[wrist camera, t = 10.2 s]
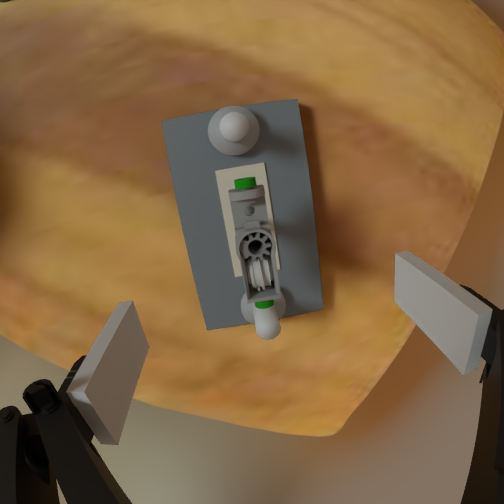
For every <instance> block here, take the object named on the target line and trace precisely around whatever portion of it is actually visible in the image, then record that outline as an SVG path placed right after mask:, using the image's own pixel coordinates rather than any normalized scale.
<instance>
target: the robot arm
mask: <svg viewBox="0 0 504 504" xmlns="http://www.w3.org/2000/svg"><path fill="white" fill-rule="evenodd" d="M6 1H10V0H0V2H6ZM394 302H395V303H396V304H397V305H398V306H399V307H400V308H401V309H402V310H403V311H404V312H405V313H406V314H407V315H408V316H409V317H410V318H411V319H412V320H413V321H414V322H415V323H416V324H417V325H418V327H419V328H420V329H422V331H423V332H424V333H425V334H426V335H427V336H428V337H429V338H430V339H431V340H432V341H433V342H434V343H435V344H436V346H437V347H438V348H439V349H440V350H441V351H442V352H443V353H444V354H445V355H446V356H447V357H448V359H450V361H451V362H452V363H453V364H454V365H455V366H456V368H457V369H458V370H459V371H460V372H461V373H462V374H463V375H465V374H468V373H470V372H472V371H474V370H476V369H477V368H478V365H479V361H480V358H481V357H482V358H483V359H484V360H485V361H486V364H485V367H484V370H483V373H482V376H481V379H480V382H479V383H482V381H483V389H482V399H481V408H480V416H479V423H478V430H477V436H476V442H475V447H474V452H473V457H472V462H471V466H470V471H469V475H468V479H467V483H466V486H465V490H464V494H463V497H462V501H461V504H504V310H500V309H499V308H498V307H496V306H495V305H493V304H492V303H491V302H489V301H488V300H487V299H485V298H483V297H482V296H481V295H479V294H477V292H475V291H474V290H472V289H471V288H469V287H466V286H463V285H458V284H457V283H455V282H454V281H452V280H451V279H450V278H448V277H447V276H445V275H444V274H442V273H441V272H439V271H438V270H436V269H435V268H433V267H432V266H430V265H429V264H427V263H426V262H424V261H423V260H421V259H420V258H418V257H417V256H415V255H414V254H412V253H410V252H409V251H404V252H399V253H395V293H394ZM148 349H149V345H148V342H147V339H146V337H145V334H144V331H143V328H142V326H141V323H140V320H139V317H138V314H137V312H136V309H135V306H134V303H133V301H127V302H120V303H119V304H118V305H117V307H116V308H115V310H114V311H113V313H112V315H111V316H110V318H109V319H108V321H107V323H106V324H105V326H104V327H103V329H102V331H101V332H100V334H99V336H98V337H97V339H96V341H95V342H94V344H93V346H92V347H91V349H90V351H89V352H88V354H87V355H85V356H82V357H81V358H80V359H78V360H77V361H76V362H75V363H74V365H73V367H72V368H71V370H70V372H69V374H68V375H67V378H66V379H65V380H64V382H63V384H62V385H61V387H60V389H59V391H58V392H57V391H56V389H55V387H54V386H53V384H52V383H51V381H50V380H47V379H42V380H38V381H35V382H33V383H32V384H30V385H29V386H28V387H27V388H26V389H25V391H24V393H23V399H24V401H25V402H26V403H27V405H28V406H29V408H30V410H31V411H32V412H33V413H31V414H25V415H22V414H21V412H20V411H19V410H18V408H17V407H15V406H8V407H5V408H3V409H1V410H0V504H60V502H59V496H58V489H57V482H56V479H57V481H58V484H59V486H60V488H61V491H62V493H63V495H64V497H65V499H66V502H67V504H132V503H131V501H130V500H129V499H128V497H127V496H126V494H125V493H124V492H123V490H122V489H121V487H120V486H119V485H118V483H117V482H116V480H115V478H114V477H113V475H112V474H111V473H110V471H109V470H108V468H107V466H106V464H105V463H104V461H103V460H102V458H101V456H100V455H99V453H98V451H97V450H96V448H95V446H94V445H93V444H92V442H91V441H92V438H93V435H95V437H96V438H97V439H98V441H99V442H100V443H101V444H110V445H111V444H112V445H118V444H119V440H120V437H121V433H122V430H123V427H124V423H125V420H126V417H127V413H128V410H129V407H130V404H131V400H132V397H133V394H134V391H135V388H136V385H137V382H138V379H139V376H140V373H141V370H142V367H143V364H144V361H145V358H146V355H147V352H148Z"/></svg>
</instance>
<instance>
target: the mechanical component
mask: <svg viewBox="0 0 504 504" xmlns="http://www.w3.org/2000/svg"><path fill="white" fill-rule="evenodd" d="M234 184H235V189H231V190H228V193H229V199H230V204H231V210H232V215H233V221H234V227H235V234H236V235H235V243H236V253H237V256H238V258H239V260H240V265H241V270H242V276H243V281H244V287H245V292H246V298H247V303H248V304H249V303H255V307H256V308H259V309H266V308H269V307H271V306H273V305H274V299H278V298H281V293H280V285H279V278H278V270H277V263H276V256H275V253H276V242H275V240H274V238H273V236H272V234H271V228H270V224H269V220H268V213H267V207H266V200H265V189H264V186H263V185H256V178H255V177H246V178H240V179H236V180H234Z"/></svg>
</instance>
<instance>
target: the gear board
mask: <svg viewBox="0 0 504 504" xmlns="http://www.w3.org/2000/svg"><path fill="white" fill-rule="evenodd" d="M162 126H163V132H164V137H165V143H166V149H167V154H168V160H169V165H170V170H171V176H172V181H173V186H174V191H175V196H176V201H177V206H178V210H179V215H180V220H181V224H182V229H183V233H184V238H185V242H186V247H187V251H188V255H189V260H190V264H191V268H192V272H193V276H194V281H195V285H196V289H197V293H198V297H199V300H200V304H201V308H202V312H203V316H204V320H205V323H206V327H207V330H212V329H219V328H225V327H232V326H238V325H244V324H250V323H251V324H253V325H255V326H256V332H257V335H258V336H259V337H260V338H262V339H266V340H269V339H273V338H275V337H276V336H278V334H279V333H280V330H281V327H280V323H279V319H280V318H283V317H288V316H293V315H298V314H303V313H308V312H313V311H318V310H323V300H322V287H321V275H320V264H319V253H318V243H317V234H316V225H315V216H314V207H313V199H312V191H311V183H310V176H309V169H308V162H307V155H306V148H305V141H304V135H303V129H302V123H301V116H300V111H299V105H298V99H292V100H282V101H273V102H265V103H258V104H251V105H244V106H227V107H224V108H222V109H219V110H214V111H208V112H203V113H198V114H193V115H188V116H184V117H179V118H175V119H170V120H166V121H162ZM246 177H255V178H256V185H263V186H264V189H265V200H266V207H267V213H268V220H269V224H270V228H271V234H272V236H273V238H274V240H275V242H276V253H275V256H276V263H277V270H278V278H279V285H280V293H281V298H278V299H274V305H273V306H271V307H269V308H266V309H259V308H256V307H255V303H249V304H248V303H247V298H246V292H245V287H244V281H243V276H242V270H241V265H240V260H239V258H238V256H237V253H236V243H235V235H236V234H235V227H234V221H233V215H232V210H231V204H230V199H229V193H228V190H231V189H235V184H234V180H236V179H240V178H246Z"/></svg>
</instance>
